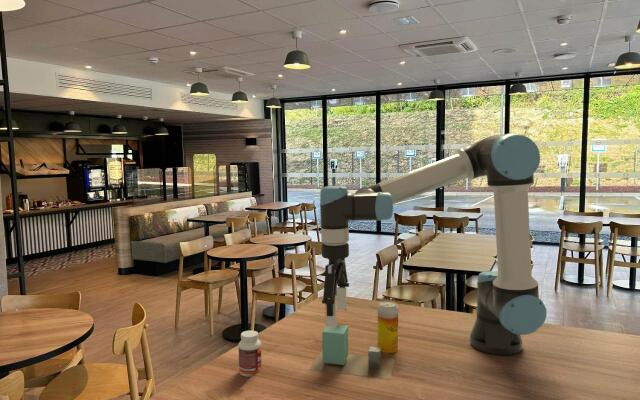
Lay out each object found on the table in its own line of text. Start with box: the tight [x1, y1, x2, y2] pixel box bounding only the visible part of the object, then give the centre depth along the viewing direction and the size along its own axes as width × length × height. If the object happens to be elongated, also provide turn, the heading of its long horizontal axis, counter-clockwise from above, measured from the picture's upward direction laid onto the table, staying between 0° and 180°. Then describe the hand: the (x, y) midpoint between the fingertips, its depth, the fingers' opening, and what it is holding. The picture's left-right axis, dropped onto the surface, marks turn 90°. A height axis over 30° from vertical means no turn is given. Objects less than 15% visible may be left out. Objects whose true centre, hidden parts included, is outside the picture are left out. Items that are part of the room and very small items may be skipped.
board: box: [309, 350, 396, 380], centre depth 131 cm, size 22×12×1 cm, turn 75°
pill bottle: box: [238, 330, 262, 378], centre depth 129 cm, size 6×6×11 cm
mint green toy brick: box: [321, 324, 349, 365], centre depth 132 cm, size 6×6×9 cm
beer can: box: [376, 300, 399, 354], centre depth 140 cm, size 6×6×15 cm
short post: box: [367, 346, 382, 370], centre depth 129 cm, size 3×3×5 cm
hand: (336, 317), depth 131 cm, fingers open, 13 cm apart
